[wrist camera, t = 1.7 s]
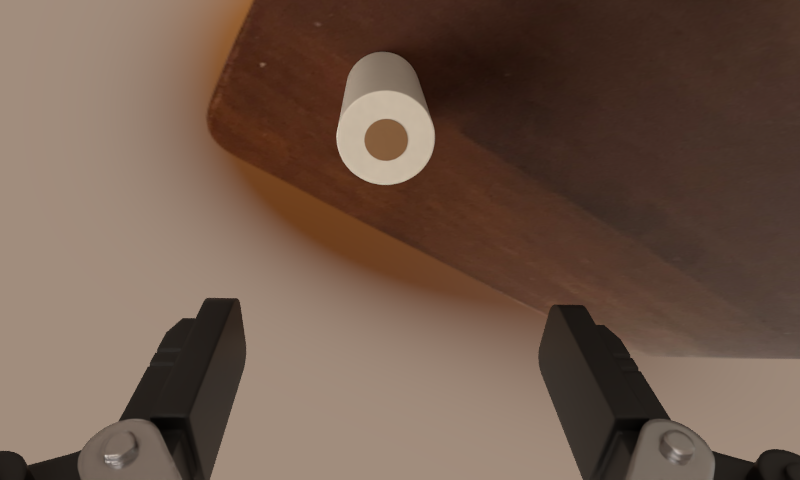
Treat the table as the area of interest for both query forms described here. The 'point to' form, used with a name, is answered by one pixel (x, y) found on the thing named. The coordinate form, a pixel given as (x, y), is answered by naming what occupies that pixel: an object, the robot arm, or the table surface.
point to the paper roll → (384, 121)
